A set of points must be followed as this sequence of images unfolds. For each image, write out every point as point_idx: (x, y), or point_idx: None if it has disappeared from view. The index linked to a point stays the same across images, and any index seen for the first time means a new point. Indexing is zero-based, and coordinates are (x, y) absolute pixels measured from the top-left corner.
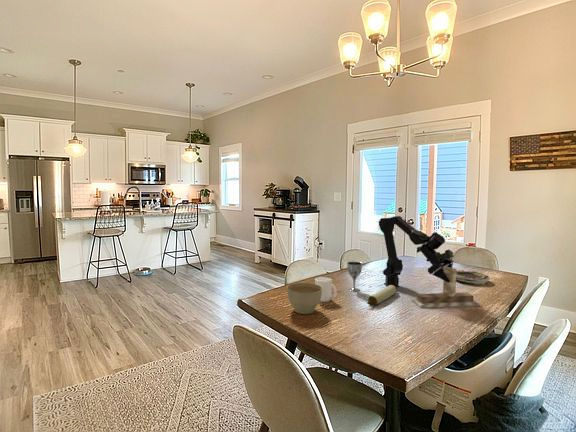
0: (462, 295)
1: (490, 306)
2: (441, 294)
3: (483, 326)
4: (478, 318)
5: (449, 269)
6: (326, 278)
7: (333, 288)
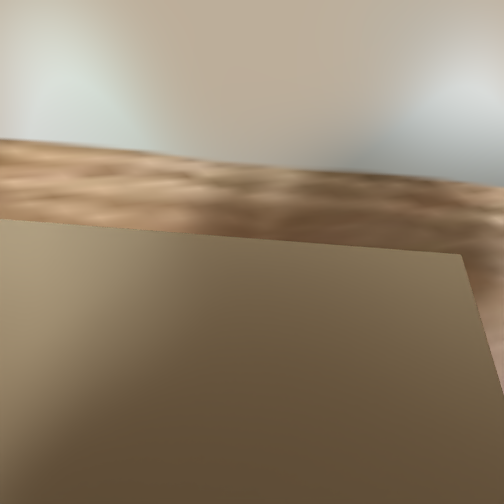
0: None
1: (91, 201)
2: None
3: (488, 188)
4: (395, 222)
5: (501, 483)
6: None
7: None
